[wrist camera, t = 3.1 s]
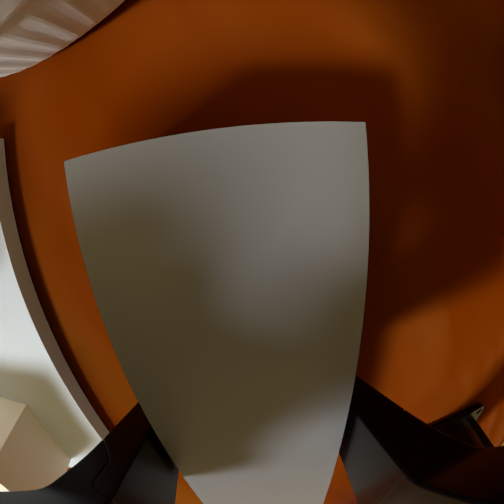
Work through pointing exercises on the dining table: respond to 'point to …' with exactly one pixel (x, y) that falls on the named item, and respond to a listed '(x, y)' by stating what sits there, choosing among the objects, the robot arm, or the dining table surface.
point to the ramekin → (44, 28)
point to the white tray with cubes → (34, 377)
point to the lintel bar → (234, 295)
